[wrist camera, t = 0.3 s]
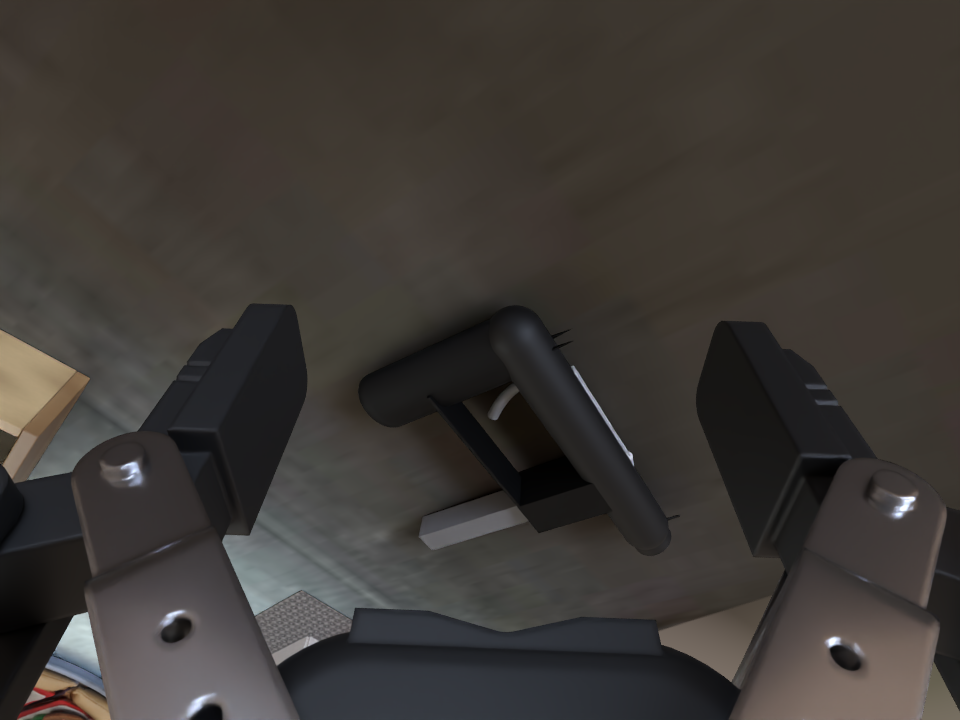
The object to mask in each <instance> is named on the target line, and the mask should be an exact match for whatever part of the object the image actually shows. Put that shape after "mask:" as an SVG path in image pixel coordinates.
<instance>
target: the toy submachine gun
mask: <svg viewBox="0 0 960 720" xmlns="http://www.w3.org/2000/svg"><path fill="white" fill-rule="evenodd" d="M570 330H571V329H570ZM567 331H569V330H567ZM567 331H564V332H561V333H558V334H555V335H550V334H549V332H548V331H547V329H546V327H545V326H544V324H543V323H542V321H541V320H540V318H539V317H538V315H537V314H536V313H534V312H533V311H532V310H530V309H528V308H526V307H523V306H508V307H505V308H503V309H501V310H499V311H498V312H496V313H495V314H494V315H493V316H492V318H491V319H489V320H487V321H484V322H482V323H480V324H478V325H476V326H473V327H471V328H469V329H467V330H465V331H463V332H460V333H458V334H456V335H454V336H452V337H449V338H447V339H445V340H443V341H441V342H438V343H436V344H434V345H432V346H430V347H427V348H425V349H423V350H421V351H419V352H417V353H414V354H412V355H410V356H408V357H406V358H403V359H401V360H399V361H397V362H395V363H392V364H390V365H388V366H386V367H384V368H382V369H379V370H377V371H375V372H373V373H371V374H368V375H366V376H365V377H364V378H363V379H362V380H361V382H360V384H359V388H358V394H359V399H360V402H361V404H362V406H363V408H364V409H365V411H366V412H367V414H368V415H369V416H370V417H371V418H372V419H374V420H375V421H376V422H378V423H380V424H381V425H384V426H387V427H400V426H402V425H405V424H407V423H410V422H412V421H415V420H417V419H420V418H422V417H425V416H427V415H429V414H432V413H434V412H437V411H438V413H439V414H440V415H441V416H442V417H443V419H444V420H445V421H446V422H447V423H448V425H449V426H450V427H451V428H452V429H453V431H454V432H455V433H456V434H457V435H458V437H459V438H460V439H461V440H462V441H463V443H464V444H465V445H466V446H467V447H468V449H469V450H470V451H471V452H472V453H473V455H474V456H475V457H476V458H477V459H478V461H479V462H480V463H481V464H482V465H483V467H484V468H485V469H486V470H487V471H488V473H489V474H490V475H491V476H492V477H493V479H494V480H495V481H496V482H497V483H498V485H499V486H500V487H501V488H502V489H503V491H500V492H497V493H494V494H491V495H487V496H484V497H481V498H478V499H475V500H472V501H469V502H466V503H463V504H460V505H457V506H454V507H451V508H448V509H445V510H442V511H439V512H436V513H433V514H430V515H427V516H424V517H423V518H422V523H421V528H420V533H419V538H420V539H421V540H422V541H423V542H424V543H425V544H426V545H427V546H428V547H430V548H431V549H432V550H435V549H438V548H442V547H445V546H448V545H452V544H455V543H458V542H461V541H465V540H468V539H471V538H475V537H478V536H481V535H484V534H488V533H491V532H494V531H498V530H501V529H504V528H507V527H511V526H514V525H517V524H521V523H524V522H527V521H529V522H530V523H531V524H532V526H533V527H534V528H535V529H536V530H537V532H538V533H541V532H544V531H548V530H551V529H554V528H558V527H561V526H565V525H568V524H571V523H575V522H578V521H582V520H585V519H588V518H592V517H595V516H599V515H602V514H606V513H607V514H608V515H609V517H610V518H611V520H612V521H613V522H614V524H615V525H616V527H617V528H618V529H619V531H620V532H621V534H622V535H623V536H624V538H625V539H626V540H627V542H628V543H629V544H631V545H632V546H634V547H635V548H636V549H637V550H638V552H640V553H641V554H643V555H647V556H653V555H657V554H660V553H661V552H663V551H664V550H665V549H666V548H667V547H668V546H669V544H670V541H671V532H670V530H669V528H668V521H669V520H671V519H674V518H677V517H680V515H676V516H673V517H669V518H666V516H665V514H664V513H663V511H662V510H661V508H660V506H659V505H658V503H657V502H656V500H655V499H654V497H653V495H652V494H651V492H650V491H649V489H648V488H647V486H646V484H645V483H644V481H643V480H642V478H641V477H640V475H639V473H638V472H637V470H636V469H635V467H634V462H633V454H632V453H631V452H629V451H628V450H627V449H626V447H625V446H624V444H623V442H622V441H621V439H620V438H619V436H618V435H617V433H616V431H615V430H614V428H613V427H612V425H611V424H610V422H609V420H608V419H607V417H606V416H605V414H604V412H603V411H602V409H601V408H600V406H599V405H598V403H597V401H596V400H595V398H594V397H593V395H592V393H591V392H590V390H589V389H588V387H587V386H586V384H585V382H584V381H583V379H582V378H581V376H580V374H579V373H578V371H577V370H576V368H575V367H574V366H571V367H570V365H569V364H568V362H567V360H566V359H565V357H564V356H563V354H562V353H561V351H560V349H559V348H560V347H562V346H564V345H566V344H568V343H570V342H567V343H564V344H561V345H558V346H557V345H556V343H555V342H554V340H553V339H554V338H556V337H558V336H559V335H561V334H563V333H565V332H567ZM571 342H572V341H571ZM511 381H512V382H513V383H512V384H511V385H509V386H508V387H507V388H506V389H505V390H504V391H503V392H502V393H501V394H500V395H499V396H498V397H497V398H496V400H495V401H494V403H493V404H492V406H491V408H490V409H489V411H488V414H487V415H488V417H489V418H490V419H492V420H497V419H498V417H499V415H500V413H501V412H502V410H503V408H504V407H505V406H506V404H507V403H508V402H509V400H510V399H511V398H512V397H513V396H514V395H515V394H517V393H518V392H519V391H520V393H521V394H522V395H523V397H524V398H525V400H526V401H527V402H528V404H529V405H530V407H531V408H532V409H533V411H534V412H535V414H536V415H537V416H538V418H539V419H540V421H541V422H542V423H543V425H544V426H545V428H546V429H547V430H548V432H549V433H550V435H551V436H552V437H553V439H554V440H555V442H556V443H557V444H558V446H559V447H560V449H561V450H562V451H563V453H564V454H565V455H566V457H563V458H560V459H557V460H554V461H551V462H548V463H546V464H543V465H540V466H537V467H534V468H531V469H528V470H525V471H522V472H519V473H518V472H517V471H516V469H515V468H514V467H513V466H512V464H511V463H510V462H509V461H508V459H507V458H506V457H505V456H504V454H503V453H502V452H501V451H500V449H499V448H498V447H497V446H496V444H495V443H494V442H493V441H492V439H491V438H490V437H489V436H488V434H487V433H486V432H485V430H484V429H483V428H482V427H481V425H480V424H479V423H478V422H477V420H476V419H475V418H474V417H473V415H472V414H471V413H470V412H469V410H468V409H467V408H466V407H465V405H464V404H463V403H462V402H461V401H464V400H466V399H469V398H471V397H474V396H476V395H479V394H481V393H484V392H486V391H489V390H491V389H493V388H496V387H498V386H501V385H503V384H506V383H508V382H511Z"/></svg>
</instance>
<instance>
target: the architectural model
mask: <svg viewBox="0 0 960 720" xmlns="http://www.w3.org/2000/svg"><path fill="white" fill-rule="evenodd" d="M255 618H256V620H257V623H258V625H259V627H260V629H261V632H262V634H263V636H264V638H265V641H266V643H267V645H268V647H269V650H270V652H271V654H272V656H273V659H274V661H275V663H276V665H279V664H280V663H281V662H283V661H284V660H285V659H287V658H288V657H290V656H292V655H293V654H295V653H297V652H298V651H300V650H302V649H303V648H305V647H308V646H310V645H312V644H314V643H316V642H318V641H320V640H323V639H326V638H329V637H332V636H335V635H338V634H342V633H346V632H350V630H351V625H352V620H351V619H349V618H347V617H345V616H344V615H342V614H340V613H339V612H337V611H335V610H334V609H332V608H330V607H329V606H327V605H325V604H324V603H322V602H320V601H318V600H317V599H315V598H313V597H312V596H310V595H308V594H307V593H305V592H303V591H302V590H301V591H299V592H298V593H296V594H294V595H292V596H290V597H289V598H287V599H285V600H283V601H282V602H280V603H278V604H276V605H274V606H273V607H271V608H269V609H267V610H265V611H264V612H262V613H260V614H258V615H257V616H255Z"/></svg>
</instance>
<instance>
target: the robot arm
mask: <svg viewBox="0 0 960 720" xmlns="http://www.w3.org/2000/svg"><path fill="white" fill-rule="evenodd" d="M306 392H307V369H306V364H305V358H304V353H303V347H302V342H301V336H300V331H299V325H298V320H297V315H296V312H295V309H294V308H293V306H292V305H280V304H250V305H249V306H248V307H247V308H246V310H245V311H244V313H243V314H242V316H241V317H240V319H239V320H238V322H237V324H236V325H235V327H234V328H233V329H224V328H222V329H221V330H219V331H218V332H216V333H215V334H213V335H212V336H210V337H209V338H208V339H206V340H205V341H203V342H202V343H200V344H199V346H198V347H197V349H196V350H195V351H194V353H193V354H192V356H191V357H190V358H189V360H188V361H187V365H184V367H183V368H182V370H181V371H180V372H179V374H178V375H177V380H176V381H175V380H174V381H173V382H172V384H171V385H170V386H169V388H168V389H167V391H166V392H165V394H164V395H163V396H162V398H161V399H160V401H159V402H158V403H157V405H156V406H155V408H154V409H153V410H152V412H151V413H150V415H149V416H148V417H147V419H146V420H145V422H144V423H143V424H142V426H141V427H140V429H139V430H138V431H137V432H131V433H126V434H123V435H120V436H116V437H114V438H111V439H109V440H107V441H105V442H103V443H101V444H99V445H98V446H96V447H95V448H93V449H92V450H90V451H89V452H88V453H87V454H85V455H84V456H83V457H82V458H81V459H80V460H79V462H78V463H77V465H76V466H75V468H74V470H73V472H70V473H65V474H60V475H54V476H49V477H44V478H39V479H34V480H28V481H23V482H18V483H14V482H13V480H12V478H11V477H10V475H9V474H8V472H7V470H6V469H5V467H3V466H2V465H1V464H0V720H17V718H18V716H19V714H20V712H21V711H22V709H23V707H24V705H25V703H26V702H27V700H28V698H29V696H30V694H31V692H32V691H33V689H34V687H35V685H36V683H37V681H38V680H39V678H40V676H41V674H42V672H43V671H44V669H45V667H46V665H47V663H48V661H49V660H50V658H51V656H52V654H53V652H54V651H55V649H56V647H57V645H58V643H59V641H60V640H61V638H62V636H63V634H64V632H65V630H66V629H67V627H68V625H69V623H70V621H71V620H72V618H73V616H74V615H77V614H81V613H86V612H88V614H89V619H90V623H91V628H92V633H93V638H94V642H95V647H96V652H97V656H98V661H99V666H100V671H101V675H102V680H103V685H104V690H105V694H106V699H107V704H108V709H109V713H110V718H111V720H922V715H923V710H924V705H925V700H926V695H927V690H928V685H929V680H930V675H931V670H932V665H933V661H934V663H935V664H936V667H937V669H938V671H939V672H940V674H941V676H942V678H943V680H944V682H945V684H946V686H947V688H948V690H949V692H950V693H951V696H952V697H953V699H954V701H955V703H956V705H957V707H958V709H959V711H960V511H959V510H956V509H952V508H949V507H946V505H945V503H944V501H943V499H942V498H941V496H940V495H939V494H938V492H937V491H936V490H935V489H934V488H933V487H932V486H931V485H930V484H929V483H927V482H926V481H925V480H924V479H922V478H921V477H920V476H918V475H917V474H915V473H913V472H911V471H910V470H908V469H906V468H904V467H902V466H899V465H897V464H894V463H891V462H888V461H885V460H881V459H877V457H876V456H875V454H874V453H873V451H872V450H871V448H870V447H869V446H868V444H867V443H866V441H865V440H864V438H863V437H862V436H861V434H860V433H859V431H858V430H857V428H856V427H855V425H854V424H853V423H852V421H851V420H850V418H849V417H848V415H847V414H846V413H845V411H844V410H843V408H842V407H841V406H838V401H837V400H836V398H835V397H834V395H833V394H832V392H831V391H830V390H827V385H826V384H825V382H824V381H823V379H822V378H821V377H820V375H819V374H818V372H817V371H816V369H815V368H814V367H813V366H812V365H811V364H809V363H808V362H807V361H805V360H804V359H803V358H801V357H800V356H799V355H797V354H796V353H795V352H793V351H792V350H791V349H782V348H781V347H780V345H779V344H778V342H777V341H776V339H775V338H774V336H773V335H772V333H771V332H770V330H769V328H768V327H767V326H766V324H764V323H762V322H741V321H721V322H719V323H718V324H717V326H716V328H715V330H714V333H713V336H712V340H711V343H710V346H709V350H708V353H707V356H706V360H705V363H704V367H703V370H702V373H701V377H700V380H699V383H698V387H697V394H696V407H697V413H698V417H699V420H700V423H701V425H702V428H703V430H704V433H705V435H706V438H707V440H708V443H709V445H710V448H711V451H712V453H713V456H714V458H715V461H716V463H717V466H718V468H719V471H720V473H721V476H722V479H723V481H724V484H725V486H726V489H727V491H728V494H729V496H730V499H731V501H732V504H733V507H734V509H735V512H736V514H737V517H738V519H739V522H740V524H741V527H742V529H743V532H744V534H745V537H746V540H747V542H748V545H749V547H750V550H751V552H752V555H753V557H764V558H781V561H782V563H783V565H784V568H785V571H784V572H783V574H782V576H781V578H780V580H779V582H778V584H777V586H776V589H775V591H774V593H773V595H772V597H771V599H770V602H769V604H768V606H767V608H766V610H765V612H764V615H763V617H762V619H761V621H760V623H759V625H758V627H757V630H756V632H755V634H754V636H753V638H752V640H751V643H750V645H749V647H748V649H747V651H746V653H745V655H744V658H743V660H742V662H741V664H740V666H739V668H738V670H737V672H736V674H735V676H734V678H733V680H732V682H730V681H729V680H728V679H726V678H725V677H724V676H722V675H721V674H719V673H718V672H716V671H715V670H714V669H712V668H710V667H709V666H708V665H706V664H704V663H702V662H700V661H698V660H697V659H695V658H693V657H691V656H689V655H687V654H685V653H682V652H680V651H677V650H675V649H673V648H670V647H667V646H664V645H661V642H660V637H659V633H658V628H657V624H656V620H644V619H619V618H594V617H579V618H575V619H570V620H565V621H561V622H556V623H551V624H547V625H542V626H537V627H533V628H528V629H523V630H519V631H514V632H499V631H495V630H492V629H488V628H485V627H482V626H478V625H475V624H471V623H468V622H465V621H461V620H458V619H455V618H451V617H448V616H444V615H441V614H438V613H434V612H431V611H420V610H395V609H370V608H355V611H354V616H353V620H352V625H351V630H350V632H346V633H342V634H338V635H335V636H332V637H329V638H326V639H323V640H320V641H318V642H316V643H314V644H312V645H310V646H308V647H305V648H303V649H302V650H300V651H298V652H297V653H295V654H293V655H292V656H290V657H288V658H287V659H285V660H284V661H283V662H281V663H280V664H279V665H276V663H275V661H274V659H273V656H272V654H271V652H270V650H269V647H268V645H267V643H266V641H265V638H264V636H263V634H262V632H261V629H260V627H259V625H258V623H257V620H256V618H255V616H254V614H253V611H252V609H251V607H250V605H249V602H248V600H247V598H246V596H245V593H244V591H243V589H242V587H241V584H240V582H239V580H238V577H237V575H236V573H235V571H234V568H233V566H232V564H231V562H230V559H229V557H228V555H227V553H226V550H225V548H224V546H223V544H222V540H223V538H224V536H225V535H250V533H251V530H252V528H253V525H254V523H255V520H256V518H257V516H258V513H259V511H260V508H261V506H262V503H263V501H264V499H265V496H266V494H267V491H268V489H269V486H270V484H271V481H272V479H273V477H274V474H275V472H276V469H277V467H278V464H279V462H280V460H281V457H282V455H283V452H284V450H285V447H286V445H287V443H288V440H289V438H290V435H291V433H292V430H293V428H294V425H295V423H296V421H297V418H298V416H299V413H300V411H301V408H302V406H303V404H304V401H305V397H306Z"/></svg>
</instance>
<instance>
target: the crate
mask: <svg viewBox="0 0 960 720" xmlns="http://www.w3.org/2000/svg"><path fill="white" fill-rule="evenodd" d="M89 380H90V378H89V377H87V376H85V375H83V374H81V373H79V372H77V371H76V370H74V369H72V368H71V367H69V366H67V365H65V364H63V363H61V362H59V361H58V360H56V359H54V358H52V357H50V356H48V355H47V354H45V353H43V352H41V351H39V350H37V349H35V348H34V347H32V346H30V345H28V344H26V343H24V342H22V341H21V340H19V339H17V338H15V337H13V336H11V335H10V334H8V333H6V332H4V331H2V330H0V429H1V430H3V431H5V432H7V433H10V434H12V435H14V436H16V437H18V439H17V440H16V442H15V444H14V446H13V447H12V449H11V451H10V453H9V454H8V456H7V458H6V459H5V461H4V463H3V465H2V466H3V467H5V469H6V470H7V472H8V474H9V475H10V477H11V478H12V480H13V482H14V483H18V482H23V481H26V480H27V479H28V477H29V475H30V474H31V472H32V471H33V469H34V468H35V466H36V464H37V463H38V461H39V460H40V458H41V456H42V455H43V453H44V452H45V450H46V449H47V447H48V445H49V444H50V442H51V441H52V439H53V437H54V436H55V434H56V433H57V431H58V430H59V428H60V426H61V425H62V423H63V422H64V420H65V418H66V417H67V415H68V414H69V412H70V411H71V409H72V407H73V406H74V404H75V403H76V401H77V399H78V398H79V396H80V395H81V393H82V392H83V390H84V388H85V387H86V385H87V384H88V382H89Z"/></svg>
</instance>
